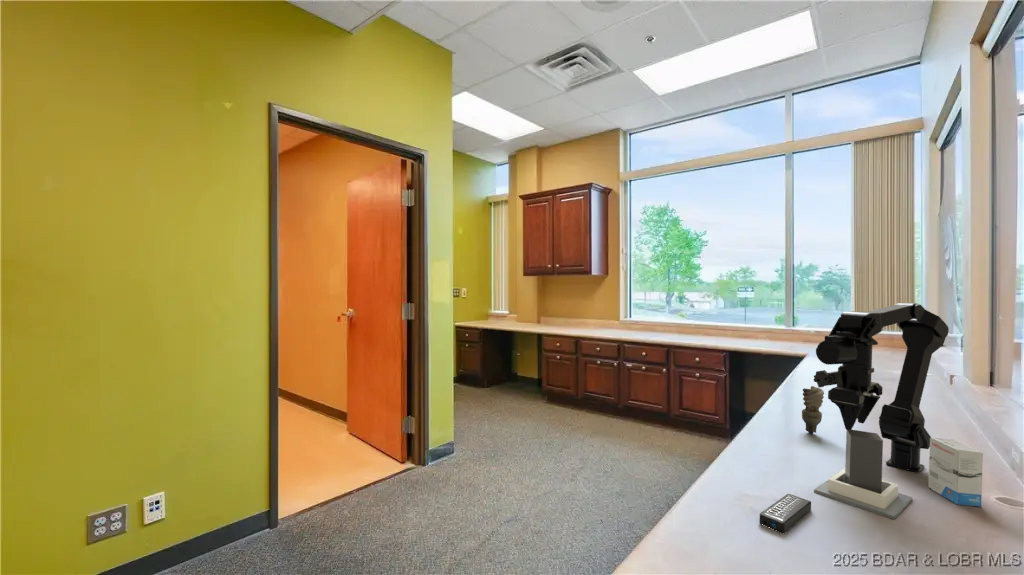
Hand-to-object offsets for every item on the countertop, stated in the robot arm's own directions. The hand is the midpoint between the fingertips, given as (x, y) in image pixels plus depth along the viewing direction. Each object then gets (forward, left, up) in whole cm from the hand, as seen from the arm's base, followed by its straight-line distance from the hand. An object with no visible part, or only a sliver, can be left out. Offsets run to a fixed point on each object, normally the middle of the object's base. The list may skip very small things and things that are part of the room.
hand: (854, 426), depth 109 cm
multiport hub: (+36, -1, -13) cm, 38 cm away
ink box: (-5, +17, -12) cm, 22 cm away
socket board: (+12, +5, -12) cm, 18 cm away
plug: (+12, +5, -11) cm, 17 cm away
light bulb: (-26, -18, -12) cm, 34 cm away
